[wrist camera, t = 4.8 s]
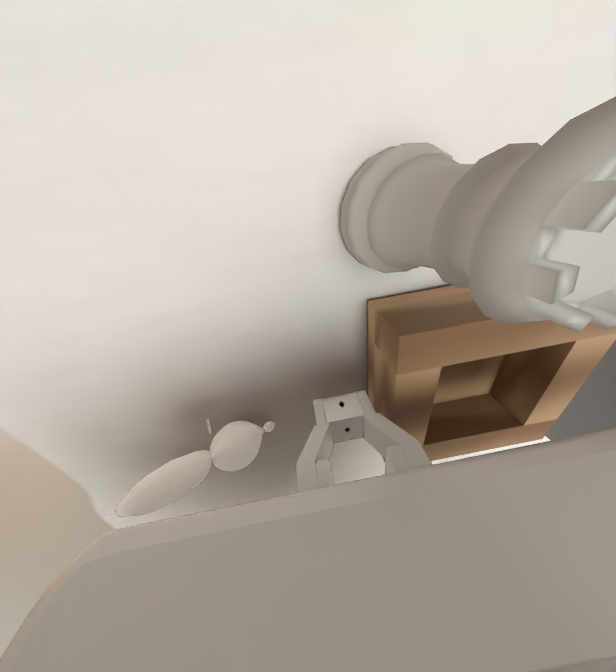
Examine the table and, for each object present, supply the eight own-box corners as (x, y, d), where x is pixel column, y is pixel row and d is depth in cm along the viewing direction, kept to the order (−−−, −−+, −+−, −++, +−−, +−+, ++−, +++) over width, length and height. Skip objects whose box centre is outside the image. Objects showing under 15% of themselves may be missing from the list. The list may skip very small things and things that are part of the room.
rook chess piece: (443, 132, 8) (1225, -205, 1) (434, 253, 11) (709, 342, 4) (328, 166, 8) (538, 7, 2) (344, 277, 11) (456, 405, 4)
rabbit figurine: (277, 443, 17) (164, 512, 14) (257, 398, 18) (148, 452, 15) (293, 442, 12) (120, 551, 9) (263, 379, 13) (99, 455, 10)
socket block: (495, 396, 17) (542, 438, 14) (368, 421, 16) (387, 469, 14) (555, 265, 11) (653, 288, 8) (367, 301, 11) (399, 336, 8)
